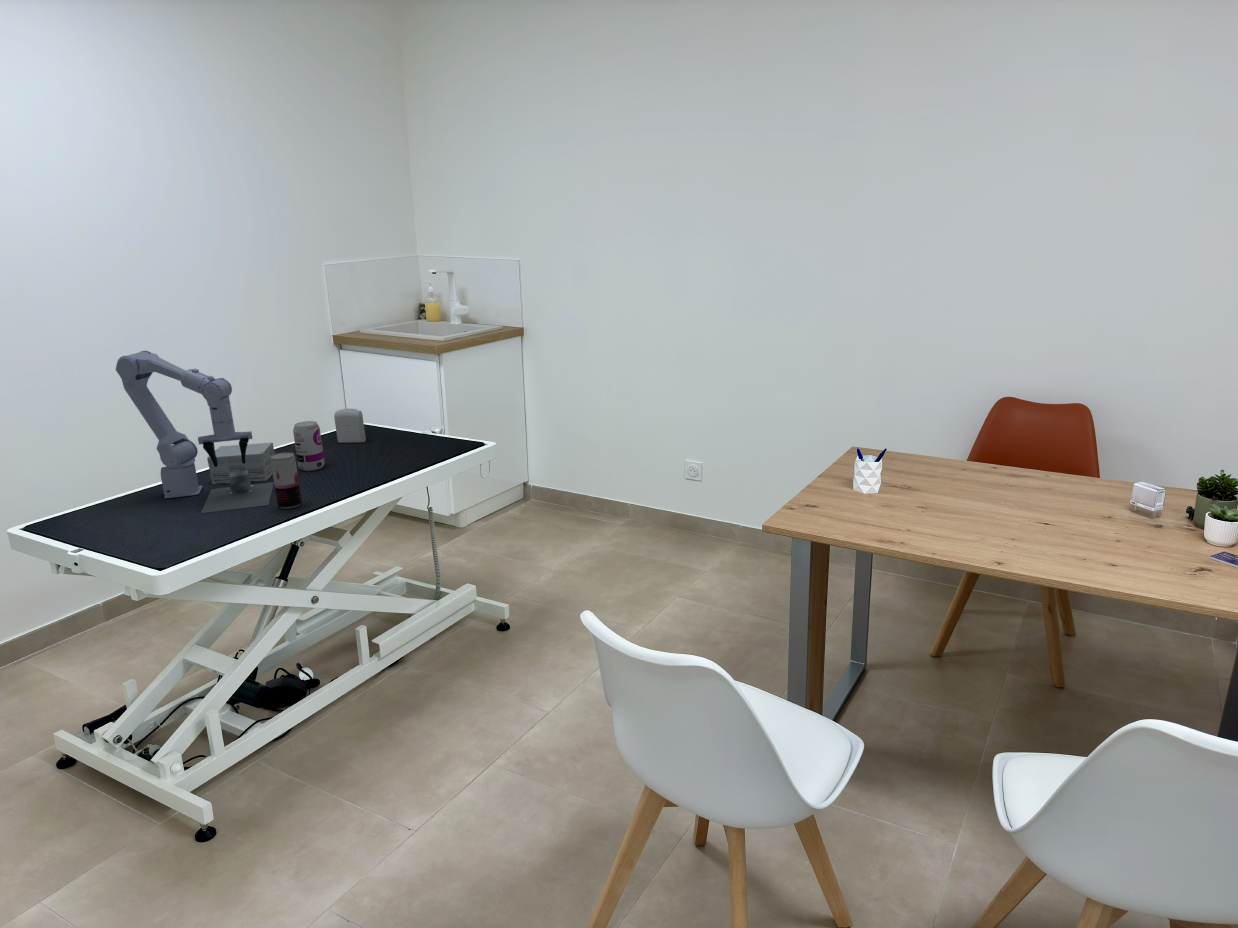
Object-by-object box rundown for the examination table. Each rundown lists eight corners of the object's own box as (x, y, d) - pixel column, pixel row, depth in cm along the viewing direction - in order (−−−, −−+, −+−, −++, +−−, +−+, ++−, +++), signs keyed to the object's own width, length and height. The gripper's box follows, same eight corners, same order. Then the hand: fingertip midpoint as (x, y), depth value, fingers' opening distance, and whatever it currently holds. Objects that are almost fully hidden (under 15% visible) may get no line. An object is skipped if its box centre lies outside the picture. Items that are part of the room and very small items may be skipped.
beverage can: (306, 503, 245) (299, 454, 241) (288, 510, 240) (280, 460, 235) (291, 499, 249) (284, 451, 244) (273, 506, 243) (265, 457, 239)
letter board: (200, 513, 239) (200, 512, 239) (211, 489, 259) (211, 488, 259) (268, 505, 244) (268, 504, 244) (273, 482, 264) (273, 481, 264)
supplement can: (329, 464, 282) (323, 420, 277) (318, 471, 274) (311, 427, 270) (305, 463, 283) (299, 420, 278) (294, 471, 275) (287, 427, 270)
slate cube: (231, 493, 255) (229, 477, 254) (233, 488, 260) (230, 472, 258) (249, 490, 256) (246, 475, 255) (250, 486, 261) (248, 470, 260)
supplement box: (277, 468, 279) (273, 441, 276) (267, 481, 267) (262, 453, 264) (224, 472, 277) (219, 445, 274) (211, 485, 265) (206, 456, 262)
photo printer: (335, 443, 306) (331, 410, 302) (340, 440, 310) (336, 407, 306) (363, 443, 305) (359, 410, 301) (367, 440, 309) (363, 407, 305)
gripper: (193, 426, 242) (201, 471, 247) (247, 420, 247) (255, 465, 251) (196, 420, 249) (204, 464, 253) (249, 415, 253) (256, 458, 257)
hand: (230, 464), depth 252 cm, fingers open, 7 cm apart
